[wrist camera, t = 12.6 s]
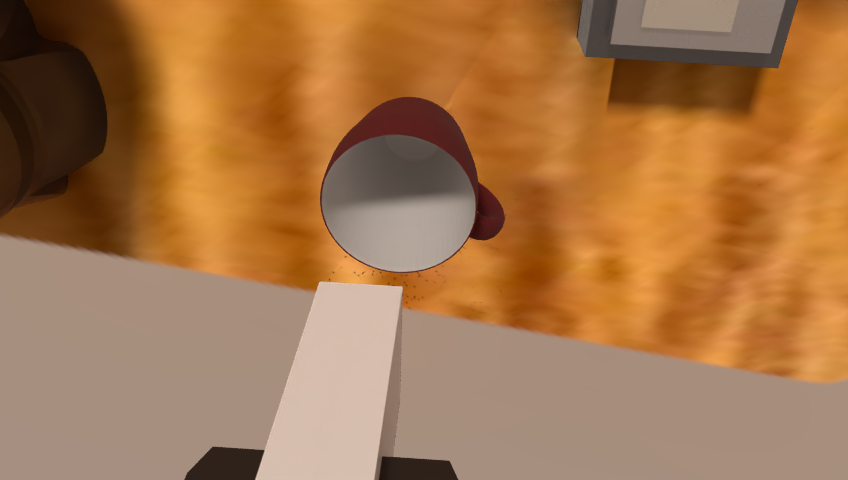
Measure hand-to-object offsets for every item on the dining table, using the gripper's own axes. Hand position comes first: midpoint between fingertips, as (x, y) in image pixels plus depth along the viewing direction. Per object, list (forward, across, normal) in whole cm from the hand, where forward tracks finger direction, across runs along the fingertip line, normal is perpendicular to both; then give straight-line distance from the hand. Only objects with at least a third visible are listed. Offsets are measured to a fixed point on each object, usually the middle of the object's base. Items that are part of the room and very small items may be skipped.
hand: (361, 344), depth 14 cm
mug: (+32, 0, -9) cm, 33 cm away
